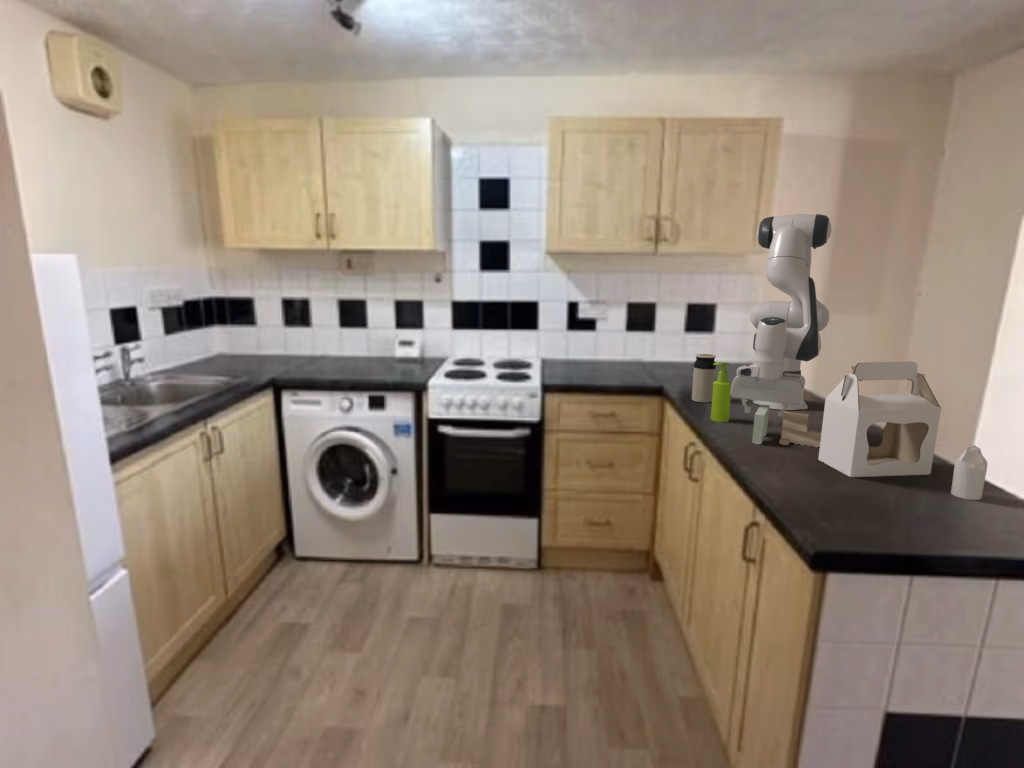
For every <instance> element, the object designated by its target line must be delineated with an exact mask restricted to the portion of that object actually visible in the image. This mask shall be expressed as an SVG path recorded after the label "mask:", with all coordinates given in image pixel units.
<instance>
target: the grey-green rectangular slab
mask: <svg viewBox="0 0 1024 768" xmlns="http://www.w3.org/2000/svg"><path fill="white" fill-rule="evenodd" d="M770 409H771V408H770V405H762V404H761V405H759V407H758V408H757V409H756V412H755V414H754V418H753V427H752V428H753V429H752V439H751V440H752V441H751V444H752V443H754V445H759V444H761V445H762V444H763V442H764V436H765V437H767V434H768V427H769V416H770Z"/></svg>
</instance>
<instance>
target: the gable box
mask: <svg viewBox="0 0 1024 768" xmlns="http://www.w3.org/2000/svg"><path fill="white" fill-rule="evenodd" d="M851 369H852V373H849V374H847V375H845V376H844V378H843V379H842V380H841V381H840V382H839V383H838V384H837V385H836V386H835V388H834V389H832V391H831V392H830V393H829V394H828V396H826V398H824V399H825V400H824V408H823V409H824V410H823V418H822V425H821V431H820V432H821V441H820V448H819V451H818V457H817V458H818V459H817V460H818V461H819V462H822V463H823V462H824V463H823V464H826V465H827V466H829V467H831V468H832V469H835V470H837V471H838V472H840V473H842V474H843V475H845V476H847V477H849V478H864V477H865V478H866V477H867V478H870V477H872V478H873V477H895V476H896V477H897V476H898V477H899V476H903V477H904V476H923V475H924V476H925V475H926V476H927V475H928V476H929V475H930V476H931V473H932V466H933V460H934V454H935V449H936V448H935V447H936V441H937V435H938V430H939V424H940V417H941V411H942V407H941V406H940V404H939V402H938V400H937V398H936V396H935V395H934V393H933V391H932V389H931V387H930V386H929V384H928V382H927V380H926V374H925V373H919V372H918V363H917V362H914V361H896V362H895V361H892V362H891V361H889V362H887V361H886V362H880V361H879V362H858V363H856V365H854V366H853V365H852V366H851ZM898 380H901V381H902V380H904V381H907V383H906V385H905V387H904V390H903V392H902V394H900V393H899V394H859V392H860V391H859V382H862V381H898ZM876 423H877V424H878V423H885V426H884V428H883V430H882V433H881V434H882V435H881V438H882V439H881V443H880V444H879V445H878V446H869V441H868V438H867V437H868V436H867V435H868V434H867V431H868V429H869V428H870V426H872V425H874V424H876Z"/></svg>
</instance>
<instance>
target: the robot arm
mask: <svg viewBox="0 0 1024 768" xmlns="http://www.w3.org/2000/svg"><path fill="white" fill-rule="evenodd" d="M831 234H832V224H831V221H830V218H829V217H828V215H825V214H818V213H817V214H807V213H806V214H800V213H799V214H797V213H795V214H791V215H779V216H767V217H765V218H763V219H762V220H761V221H760V223H759V225H758V227H757V230H756V238H757V241H758V245H759V246H761V247H762V248H764V249H768V253H767V258H766V260H767V261H766V267H765V268H766V269H765V274H766V275H765V277H766V278H767V280H768V282H769V283H770V285H771V286H773V287H775V288H776V289H778V291H780V292H782V293H784V294H785V295H787V296H789V297H790V299H791V301H786V300H785V301H783V300H781V301H779V300H778V301H777V300H770V301H768V300H767V301H762V302H758V303H756V304H755V305H754V306H753V308H752V309H751V311H750V312H751V313H750V321H751V324H752V326H753V327H754V328H755V329H756V333H754V335H753V342H752V343H753V345H752V348H753V350H754V352H755V354H754V357H753V360H752V364H747V365H741V366H739V367H738V368H737V369H736V375H735V376H734V378H733V380H732V382H731V383H732V386H731V392H730V394H731V397H732V398H734V399H741V403H742V404H741V405H743V408H744V413H745V414H750V413H751V406H748V404H747V402H748V400H752V403H753V404H755V405H759V406H760V405H761V404H762V405H770V408H769V409H772V410H778V411H777V418H782V419H783V416H784V412H785V411H798V410H808V408H809V407H808V405H807V403H806V402H805V400H804V398H805V395H804V389H805V388H804V387H805V385H806V378H805V376H803V375H802V370H801V365H802V364H801V363H802V362H809V361H811V360H813V359H815V358H817V356H819V354H820V353H821V350H822V339H821V335H820V332H821V331H823V330H824V329H825V328H826V327H827V326H828V324H829V322H830V321H829V320H830V312H829V309H828V308H827V306H826V305H825V304H823V303H822V302H820V300H819V299H817V294H816V293H817V291H816V284H815V283H816V282H815V281H814V279H813V278H812V277H811V268H812V267H811V266H812V265H811V264H812V248H813V250H816V249H817V248H821V247H823V246H825V245H826V244H827V243H828V240H829V239H830V237H831Z"/></svg>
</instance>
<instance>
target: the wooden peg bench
mask: <svg viewBox="0 0 1024 768" xmlns="http://www.w3.org/2000/svg"><path fill="white" fill-rule="evenodd" d="M809 416H810V415H809V413H802V412H792V411H787V410H785V411H784V413H783V418H782V426H781V436H780V438H779V443H778V445H779V444H782V445H781V446H785V445H788V446H789V444H790V443H794V444H793V445H797V444H800V445H799V446H804V445H807V446H806V447H811V446H813V448H818V447H820V441H821V432H822V431H821V430H820V431H819V430H811V429H808V425H809Z"/></svg>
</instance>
